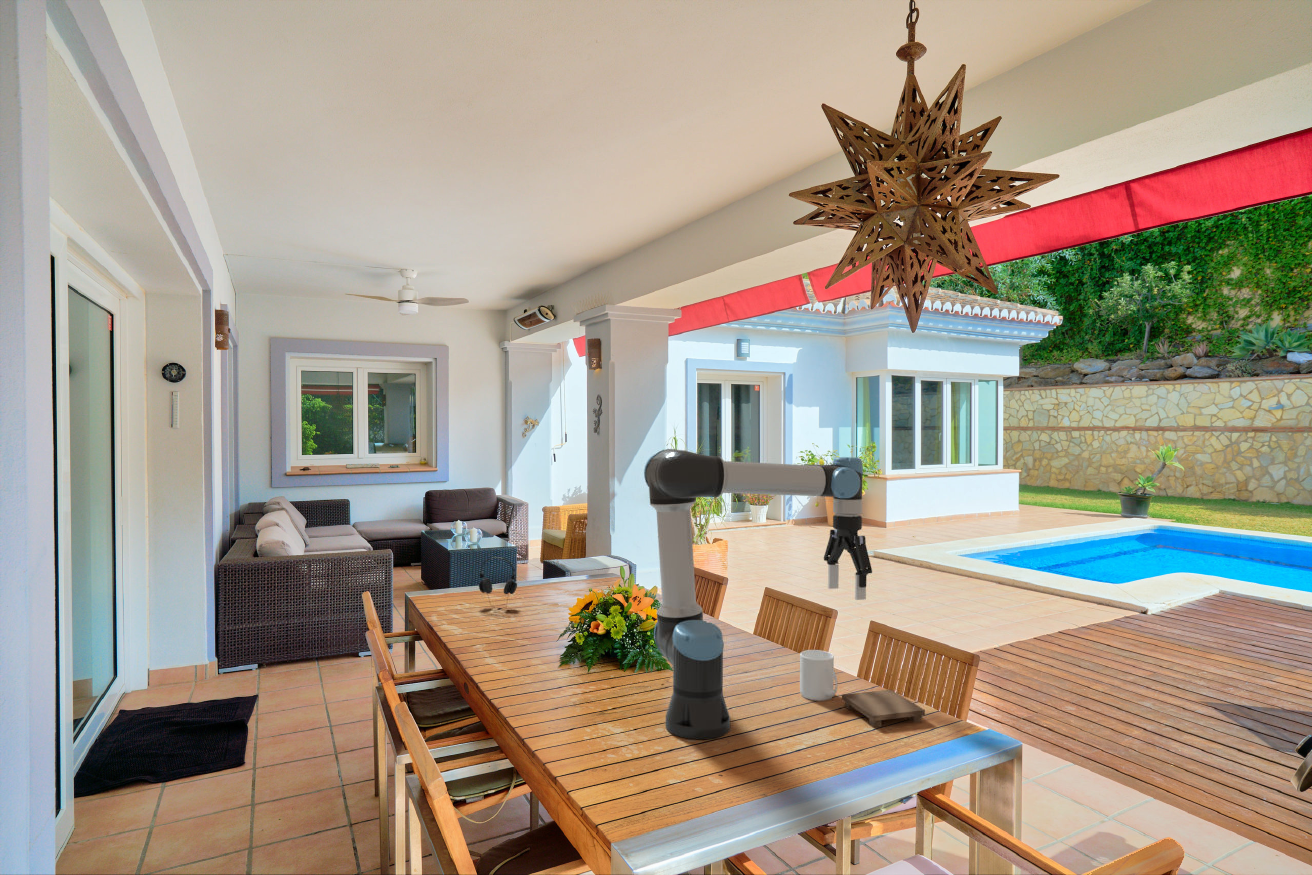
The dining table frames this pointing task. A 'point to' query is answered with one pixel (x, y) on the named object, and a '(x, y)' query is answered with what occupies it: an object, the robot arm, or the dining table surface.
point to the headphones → (487, 585)
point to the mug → (817, 675)
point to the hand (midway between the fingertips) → (846, 593)
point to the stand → (883, 706)
